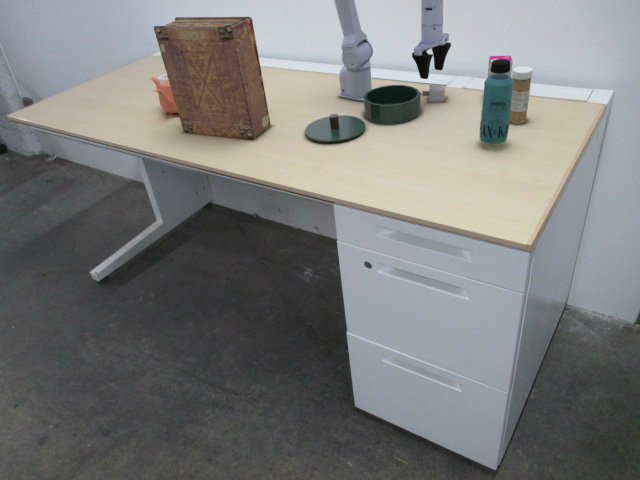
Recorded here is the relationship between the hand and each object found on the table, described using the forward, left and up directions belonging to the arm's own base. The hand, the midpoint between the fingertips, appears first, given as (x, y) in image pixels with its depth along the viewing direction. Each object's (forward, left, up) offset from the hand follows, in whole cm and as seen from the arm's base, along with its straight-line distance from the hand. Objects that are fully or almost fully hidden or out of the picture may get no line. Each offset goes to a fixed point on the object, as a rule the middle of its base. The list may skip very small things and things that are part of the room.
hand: (431, 73), depth 145 cm
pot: (-5, -13, -8) cm, 16 cm away
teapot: (-68, -42, -8) cm, 80 cm away
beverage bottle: (+28, -18, -8) cm, 34 cm away
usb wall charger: (0, 0, -8) cm, 8 cm away
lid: (-12, -30, -7) cm, 33 cm away
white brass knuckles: (-94, -22, -8) cm, 97 cm away
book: (-42, -44, -8) cm, 61 cm away
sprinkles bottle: (+27, -3, -8) cm, 28 cm away
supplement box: (+16, +8, -8) cm, 20 cm away
